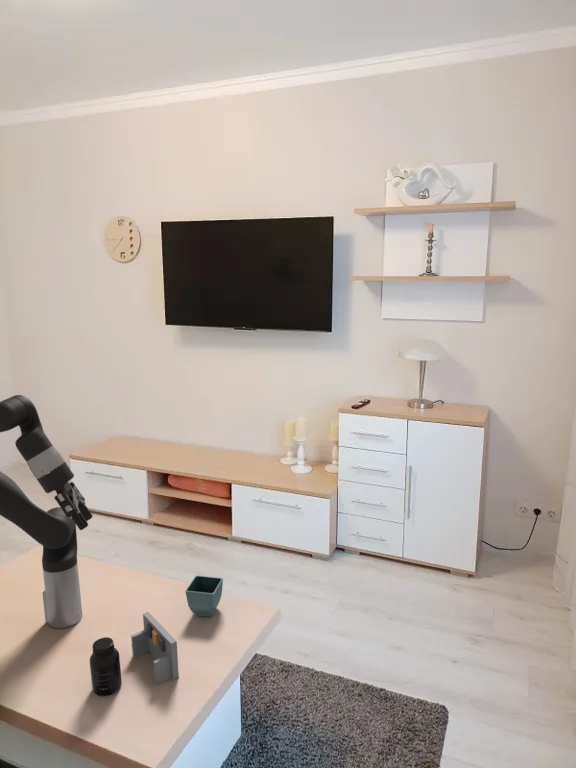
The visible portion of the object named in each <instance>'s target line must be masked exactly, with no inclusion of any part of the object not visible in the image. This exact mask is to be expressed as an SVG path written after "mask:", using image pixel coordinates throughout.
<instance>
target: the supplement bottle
mask: <svg viewBox="0 0 576 768" xmlns="http://www.w3.org/2000/svg"><path fill="white" fill-rule="evenodd" d="M114 644H115V643H114V640H113V639H112V638H111V637H107V636H104V637H100V638H99V639H96V640H95V641H94V642H93V644H92V654H91V655H90V658H89V669H90V678H91V689H92V691H93V694H95V695H96V696H98V697H108V696H109V697H110V696H112V695H113V694H116V692H118V691H119V689H121V687H122V684H123V683H122V682H123V681H122V680H123V679H122V670H121V659H120V652H119V650H118V649H117V648H116V647H115V645H114Z"/></svg>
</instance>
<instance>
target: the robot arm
mask: <svg viewBox="0 0 576 768" xmlns="http://www.w3.org/2000/svg"><path fill="white" fill-rule="evenodd" d="M17 427H19V429H20V433H21V434H20V435H19V436H18V438H17V439H16V440H15V442H14V443H15V446H16V449H17V451H18V452H19V454H21V456H22V458H23V459H24V461H25V462H26V464H27V466H28V468H29V470H30V471H31V473H32V474H33V476H34V477H35V479H36V480H37V483H39V485H40V486H41V488H42V489H43V491H44V492H45V493H46V494H50V493H52V492H54V491H55V492H56V495H55V496H54V500H55V501H56V502H57V504H58V505H59V507H58V506H57V507H53V508H51V509H48V510H47V511H45V510H43V509H42V508H40V506H37V505H36V504H35V503H33V502H32V500H30V499H29V497H28V496H27V495H26V494H25V493H24V491H23V490H22V489H21V487H20V486H19V485H18V484H17V483H16V482H15V481H14V480H13V479H12V478H11V477H9V476H8V475H7V474H6V473H4V472H2V471H0V516H1V517H2V518H3V519H5V520H7V521H8V522H11V523H12V524H14V525H15V526H17V527H18V528H19V529H21V530H22V531H23V532H25V534H27V535H28V536H29V537H31V538H32V539H34V541H35V542H37V543H38V544H40V545H41V546H42V556H41V557H42V558H41V565H42V567H41V568H42V572H43V573H42V575H43V583H44V590H43V591H42V594H41V595H42V602H43V603H42V604H43V610H44V612H43V613H44V619H45V623H46V624H48V625H49V626H50V627H51V628H53V629H66V628H70V627H73V626H74V625H76V624H78V623H79V622H80V621H81V619H82V618H83V609H82V597H81V586H80V577H79V575H80V573H79V565H78V538H77V528H78V529H79V531H83V530H84V529H86V528H87V527H88V526H89V523H88V521H90V520H92V518H93V514H92V512H91V511H90V510H89V508H88V507H87V505H86V502H85V501H86V499H85V497H84V496H83V494H82V493H81V492H80V490H79V489H78V488H77V486H76V485H75V483H74V482H73V481H71V480H73V478H74V477H75V474H74V472H73V471H72V470H71V468H70V467H69V465H68V464H67V462H66V461H65V459H64V458H63V456H62V455H61V453H60V452H59V450H57V449H56V447H55V446H54V444H52V442H51V440H50V439H49V438H48V436H47V435H46V433H45V431H44V427H43V425H42V422H41V420H40V416H39V413H38V411H37V408H36V406H35V404H34V402H33V401H32V400H31V399H30V398H28V397H27V396H25V395H22V394H15V395H13V396H10V397H8V398H5V399H4V400H1V401H0V433H6V432H8V431H11V430H13V429H15V428H17ZM69 481H71V482H69Z"/></svg>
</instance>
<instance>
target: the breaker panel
mask: <svg viewBox="0 0 576 768" xmlns="http://www.w3.org/2000/svg"><path fill="white" fill-rule="evenodd" d="M142 617H143V618H142V621H143V629H142V630H141V631H138V632H136V633H133V634H131V636H130V637H131V638H130V639H131V648H132V650H131V651H132V657H133V658H134V659H135V658H138V657H140V656H142V655H144V654H146V653H148V652H149V654H150V655H151V656H152V657H153V658H154V659H155V660H153V661H152V663H153V679H154V684H155V685H156V686H158V685H160V684H162V683H164V682H166V681H168V680H170V679H172V680H173V681H174V680H177V679H179V677H180V675H179V659H178V658H179V657H178V642H177V640H176V639H175V638H174V637H173V636H172V634H171V633H170V632H169V631H167V630H166V628H164V626H163V625H161V623H160V622H159V621H158V620H157V619H156V618H155V617H154V616H153V615H152V614H151V613H150V612H149V611H146V612H144V613H142Z"/></svg>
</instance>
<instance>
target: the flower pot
mask: <svg viewBox="0 0 576 768" xmlns="http://www.w3.org/2000/svg"><path fill="white" fill-rule="evenodd" d="M223 583H224V578H223V577H214V576H206V575H195V576H194V577H193V579H192V580H191V582H190V583H189V585H188V586H187V587H186V589H185V597H186V602H187V606H188V608H189V610H190V611H191V613H192V614H194V616H196V617H197V616H198V617H199V616H200V617H205V618H206V617H207V618H208V617H209V618H211V617H212V616H213V615H214V613H215V611H216V610H217V607H218V605H219V604H220V602H221V597H222V593H223V586H224V585H223Z"/></svg>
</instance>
